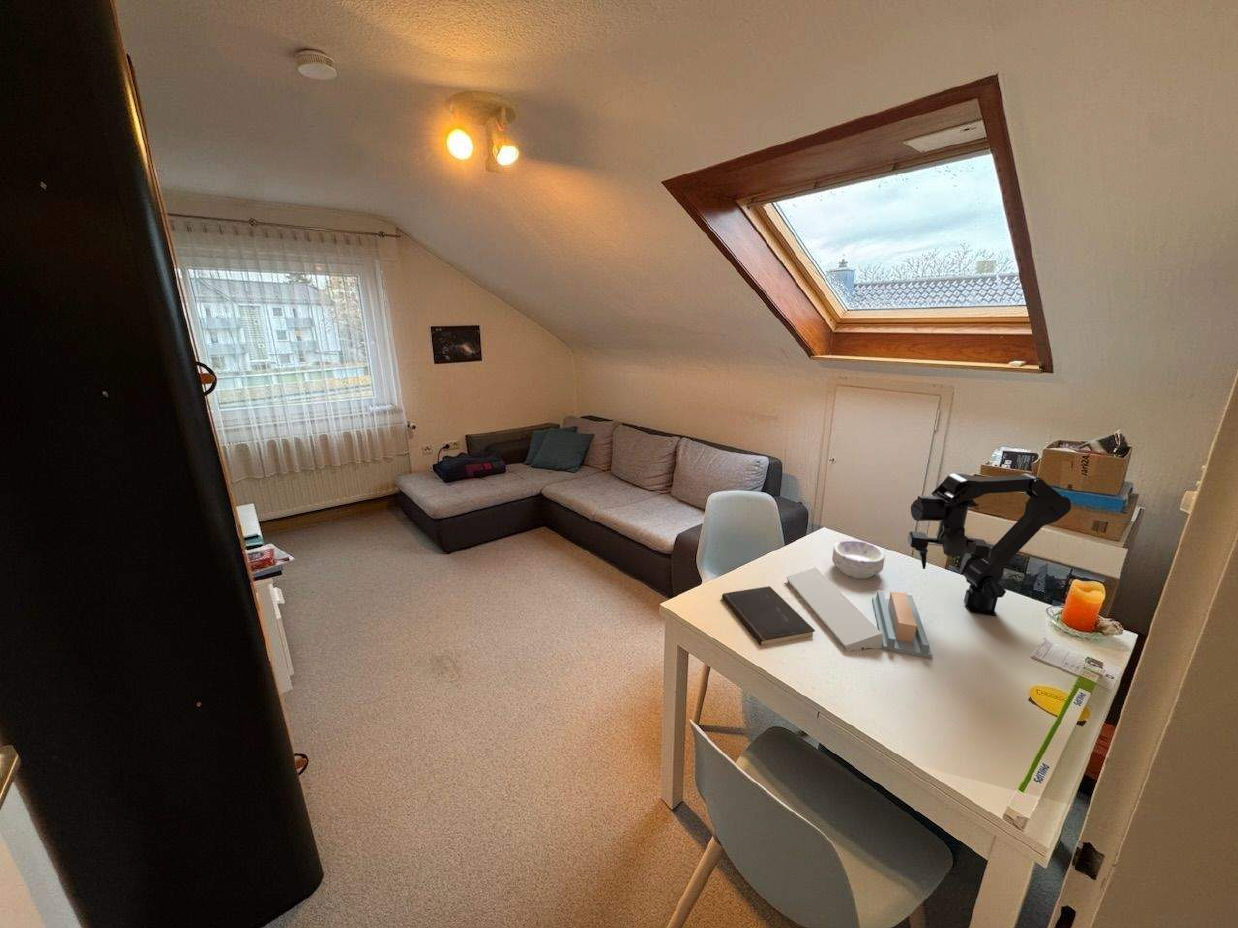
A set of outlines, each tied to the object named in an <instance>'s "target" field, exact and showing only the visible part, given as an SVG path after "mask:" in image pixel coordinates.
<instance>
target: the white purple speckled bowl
mask: <svg viewBox="0 0 1238 928" xmlns="http://www.w3.org/2000/svg"><path fill="white" fill-rule="evenodd" d="M885 558H886V555H885V552H884V551H883V550H882V549H881V548H880V547H878V546H877V545H874V544H873V543H869V542H866V541H861V540H854V539H847V540H840V541H837V542H836V543H835V544H834V545H833V550H832V558H831V559H832V563H833V564H834V566H836V568H838V569H839V570H840V572H842V573H843V574H845V575H846V576H848V577H852V578H854V579H868V578H871V577H873V576H874V575H877V574H880V573H881V572H882V571H883V570H884V564H885Z"/></svg>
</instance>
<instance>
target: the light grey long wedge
mask: <svg viewBox="0 0 1238 928" xmlns="http://www.w3.org/2000/svg"><path fill="white" fill-rule="evenodd" d="M785 578H786V580H787V582H788V583H789V585H791V587H792V588H793V589H794V590H795V591H796V593H797V594H798V595H799V596H800V598H801V599H803V601H804V602H805V603H806V604H807V605H808V607H809V608H810V609H811V610H812V611H813V613H814V614H815V615H816V616H817V617H818V618H819V620H820V621H821V622H822V623H823V624H824V625H825V626H826V628H827V629H828V630H829V631H830V632H831V634H832V635H833V636H834V637H835V638H836V639H837V640H838V642H839V643H840V644H841V645H842V646H843V648H845V650H846V651H847V652H850V651H861V650H862V649H863V650H866V649H867V648H868V649H882V646H883V644H884V642H883V635H882V633H881V632H880V631H879V630H878V627H876V625H875V624H874V623H872V621H871V620H869V618H868V617H867V616H865V614H863V612H861V611H860V610H859V609H858V607H856V605H854V603H852V602H851V601H850V599H848V598H847V596H845V595H844V594H843V593H842V591H840V590H839V589H838V588H837V587H836V586H835V585H834V584H833V583H832V582H831V581H830V580H829V579H828V578H827V577H826V576H825V575H824V574H823V573H822V572H821V571H820V570H819V569H818V568H817V567H812V568H809V569H807V570H804V571H800V572H797V573H794V574H791V575H788V576H786V577H785Z"/></svg>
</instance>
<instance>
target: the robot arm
mask: <svg viewBox="0 0 1238 928" xmlns="http://www.w3.org/2000/svg"><path fill="white" fill-rule="evenodd" d="M946 493H947V494H949V495H947V494H946ZM1008 493H1025V494H1026V496H1027V497H1028V500H1027V501H1026V503H1025V508H1024V513H1023V514H1022V515H1021V517H1020V518H1019V519H1018V520H1017V521H1016V522H1015V523H1014V524H1013V525H1012V526H1011V527H1010V528H1009V530H1007V531H1006V533H1005V534H1004V535H1002V537H1001V538H1000V539H999V540H998V541H997V542H996V543H995V544H994V545H993V546H992V547H990V545H989V544H988V543H987V542H986V541H985V539H980V538H973V537H972V538H971V537H970V538H967V537H966V535H965V533H966V531H965V530H966V528H965V525H966V520H967V516H968V511H969V508H972V507H973V508H974V507H975V508H977V507H978V506H979V505H978V504H977V502H976V501H975V499H979V498H980V497H982V496H984V495H988V494H989V495H991V494H994V495H995V494H1008ZM950 495H951V496H952V497H951V496H950ZM1071 510H1072V503H1071V500H1070V498H1068V497H1067V496H1064V495H1062V494H1060V493H1059V492H1058V491H1057V490H1055V489H1054V488H1053V487H1051V486H1050V485H1048V483H1046V481H1045V479H1043V478H1042V477H1040V476H1037V475H1034V474H1032V473H1021V474H1011V475H995V476H975V475H970V474H965V473H956V472H955V473H950V474H947V476H946V477H945V479H944V480H943V481H942V482H941V483H940V485H938V486H937V487H936V488H935V489H934V490H933V491H932V492H931V496H929V495H928V496H926V495H925V496H924V495H918V496H917V499H916V500H914V501H913V502H912V504H911V505H910V513H911V517H912V519H913V520H914V521H916V522H938V523H939V524H938V529H937V531H936V534H935V536H936V537H928V536H927V535H926V532H923V531H922V532H921V531H912V530H911V531H910V532H908V535H907V542H908V544H909V546H910V547H911V548H913V549H914V550H915V551H918V553H919V557H920V561H921V562H920V563H921V565H922V566H921V567H922V569H923V570H925V569H926V566H927V555H928V551H929V550H928V545H930V546H938V547H940V546H941V547H942V551H943V554H944V555H946V556H948V557H950V556H951V557H952V556H953V557H958V558H962V560H961V563H960V564H961V565H960V568H959V569H960V570H959V573H960V575H961V576H962V575H963V577H964V578H965V580H966V583H968V584H969V588H968V589H966V590H965V594H964V599H963V602H964V604H965V606H966V607H967V610H968V612H970V613H975V614H981V615H988V616H993V617H997V612H996V606H997V603H998V598H1003V597H1004V596H1005V594H1006V593H1007V591H1006V589H1005V588H1004V587H1003V586H1002V585H1001V584H1000V583H999V582H1000V581H1001V580H1002V578H1004V577H1003V576H1004V572H1005V566H1006V565H1007V564H1008V563H1009V562H1010V561H1011V560H1012V559H1013V558H1014V557H1015V556H1016V554H1017V553H1019V551H1020V550H1022V549H1023V548H1024V547H1025V545H1026V544H1027V543H1029V541H1031V539H1033V537H1035V535H1036V534H1037V533H1038V532H1039V531H1040V530H1041V529H1042V528H1043V527H1044V526H1047V525H1050V524H1052V523H1055V522H1058V521H1059V520H1061V519H1062V518H1063V517H1064V516H1066V515H1067V514H1068V513H1069V512H1070V511H1071Z"/></svg>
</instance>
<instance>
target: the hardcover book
mask: <svg viewBox="0 0 1238 928" xmlns="http://www.w3.org/2000/svg"><path fill="white" fill-rule="evenodd" d="M721 599H722V601H723V602H724V603H725V604H726V605H727V607H728V608H729V609H730V610H731V612H733V615H734V616H735V617H736V618H737V619H738V620H739V622H740V623H741V624H742V625H743V626H744V628H745V629H746V630H747V631H748V632H749V634H750V635H751V636H752V638H754V640H755V641H756V642H757V644H758V645H759V646H760V647H761V646H763V645H764V646H765V645H771V644H775V643H779V642H780V643H781V642H786V641H791V640H797V639H801V638H807V637H812V636H814V632H816V630H815V629H814V628H813V626H811V625H810V624H809V623H808V621H806V620H805V619H804V618H803V617H802V616H801V615H800V614H799V613H798V612H797V611H796V610H795V609H794V608H793V607H791V605H790V604H789V603H787V601H785V599H784V598H782V596H780V595H779V594H778V592H777V591H775V589H774V588H772V587H771V586H770V585H769V586H763V587H756V588H750V589H744V590H743V589H742V590H737V591H730V592H724V593H722V594H721Z"/></svg>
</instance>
